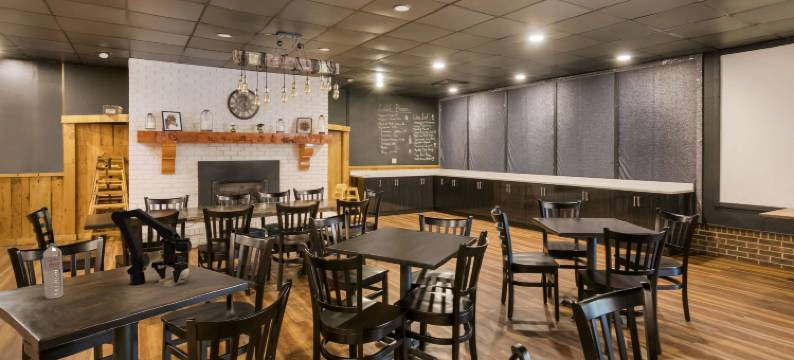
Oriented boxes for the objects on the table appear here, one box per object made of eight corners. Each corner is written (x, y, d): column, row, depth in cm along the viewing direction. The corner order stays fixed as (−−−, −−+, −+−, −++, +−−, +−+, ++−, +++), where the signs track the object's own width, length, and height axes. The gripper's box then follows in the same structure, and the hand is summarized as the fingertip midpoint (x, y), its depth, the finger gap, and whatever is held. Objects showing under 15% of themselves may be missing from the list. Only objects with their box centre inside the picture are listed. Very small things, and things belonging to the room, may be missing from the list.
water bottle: (43, 300, 205) (41, 245, 203) (46, 295, 211) (44, 243, 209) (61, 298, 208) (59, 244, 206) (64, 293, 214) (62, 241, 213)
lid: (159, 284, 228) (159, 280, 228) (171, 280, 236) (171, 276, 236) (168, 285, 227) (168, 281, 226) (180, 281, 234) (180, 277, 234)
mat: (154, 285, 228) (154, 284, 228) (170, 280, 238) (170, 279, 238) (170, 287, 225) (170, 286, 225) (185, 282, 235) (185, 281, 235)
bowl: (167, 279, 239) (167, 271, 239) (180, 275, 247) (179, 267, 247) (180, 281, 237) (180, 272, 236) (192, 276, 244) (192, 268, 244)
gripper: (195, 250, 235) (196, 279, 236) (167, 247, 241) (168, 276, 242) (179, 254, 225) (180, 285, 225) (150, 251, 230) (150, 281, 231)
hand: (170, 281), depth 231 cm, fingers open, 8 cm apart
